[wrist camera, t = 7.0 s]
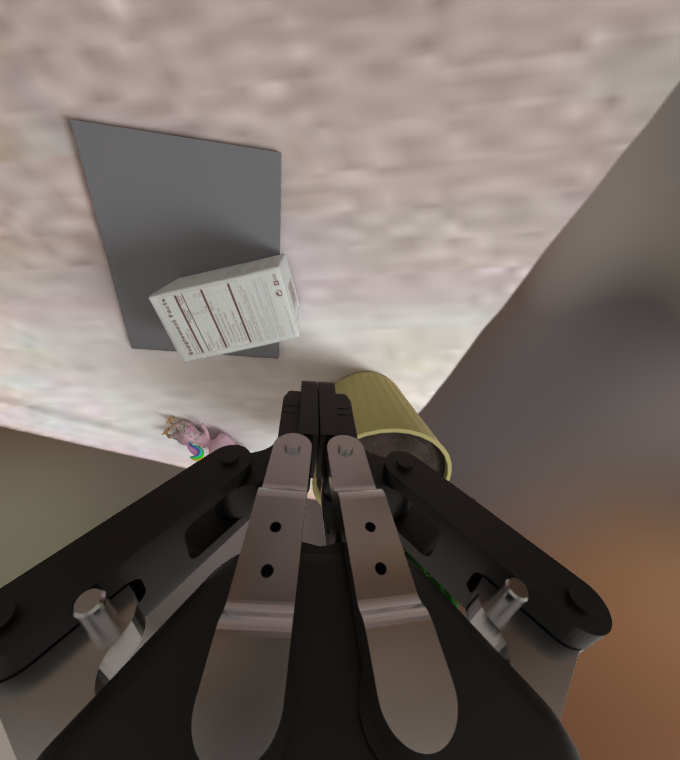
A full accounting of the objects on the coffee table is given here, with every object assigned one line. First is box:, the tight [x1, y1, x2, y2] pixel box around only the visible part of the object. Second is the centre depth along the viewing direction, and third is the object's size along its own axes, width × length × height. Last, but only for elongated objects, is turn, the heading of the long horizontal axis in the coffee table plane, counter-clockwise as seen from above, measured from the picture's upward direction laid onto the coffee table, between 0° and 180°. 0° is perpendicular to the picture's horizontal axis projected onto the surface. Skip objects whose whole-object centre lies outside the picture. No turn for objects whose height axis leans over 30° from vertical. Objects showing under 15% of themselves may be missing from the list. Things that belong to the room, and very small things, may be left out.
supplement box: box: [148, 254, 302, 362], centre depth 32 cm, size 7×7×13 cm
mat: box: [70, 119, 281, 358], centre depth 33 cm, size 22×18×1 cm
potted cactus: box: [312, 372, 458, 609], centre depth 33 cm, size 15×15×30 cm
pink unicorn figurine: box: [161, 415, 237, 461], centre depth 44 cm, size 6×6×15 cm
